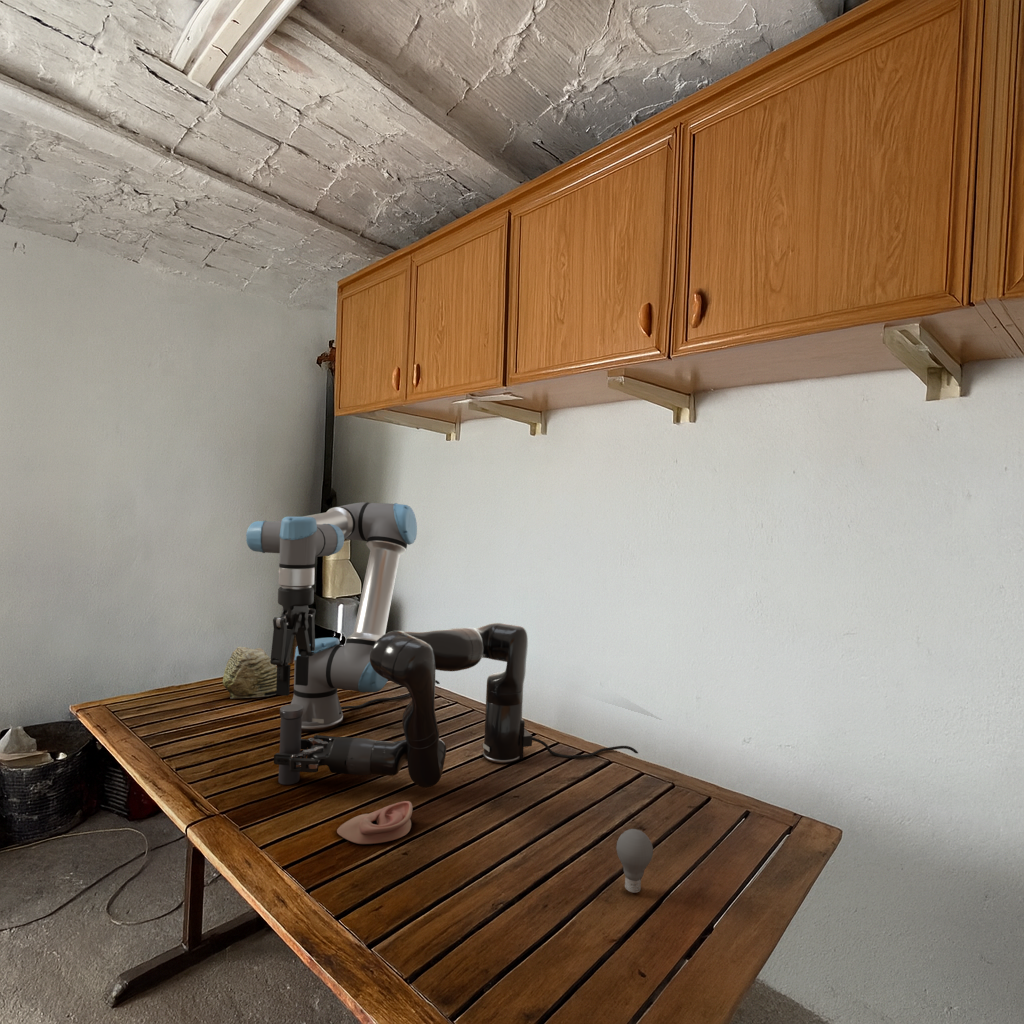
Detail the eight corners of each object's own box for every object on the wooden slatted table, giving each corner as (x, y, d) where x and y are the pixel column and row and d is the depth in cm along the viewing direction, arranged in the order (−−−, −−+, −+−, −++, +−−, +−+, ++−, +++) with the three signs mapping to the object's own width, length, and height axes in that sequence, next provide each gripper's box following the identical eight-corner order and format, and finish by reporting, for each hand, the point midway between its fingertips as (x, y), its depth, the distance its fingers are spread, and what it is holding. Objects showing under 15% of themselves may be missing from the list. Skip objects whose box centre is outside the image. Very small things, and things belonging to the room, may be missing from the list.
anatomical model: (329, 818, 117) (357, 790, 128) (328, 839, 117) (356, 810, 128) (397, 828, 114) (419, 799, 126) (396, 850, 114) (418, 819, 126)
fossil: (218, 695, 195) (220, 647, 195) (278, 685, 208) (279, 640, 207) (228, 703, 189) (230, 653, 188) (289, 692, 201) (290, 645, 201)
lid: (277, 719, 138) (277, 711, 138) (282, 711, 143) (283, 704, 143) (300, 719, 138) (300, 711, 138) (305, 711, 143) (305, 704, 143)
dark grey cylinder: (276, 785, 138) (278, 713, 138) (281, 776, 143) (283, 706, 142) (297, 784, 139) (299, 713, 138) (301, 775, 143) (304, 706, 143)
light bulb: (610, 879, 108) (613, 822, 108) (644, 879, 109) (647, 822, 109) (619, 902, 102) (622, 840, 102) (655, 901, 103) (658, 840, 103)
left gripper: (304, 580, 150) (300, 676, 151) (254, 591, 131) (250, 701, 131) (333, 582, 149) (329, 679, 149) (286, 593, 129) (282, 705, 130)
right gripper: (364, 727, 147) (296, 722, 148) (344, 751, 132) (269, 746, 133) (363, 759, 147) (295, 754, 148) (343, 787, 132) (267, 781, 134)
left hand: (292, 689), depth 140 cm, fingers open, 7 cm apart
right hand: (282, 750), depth 141 cm, fingers open, 8 cm apart
